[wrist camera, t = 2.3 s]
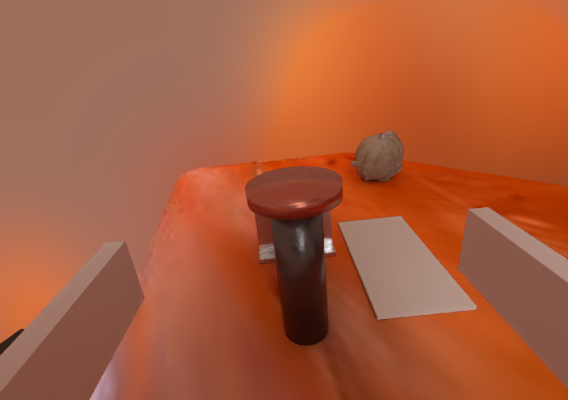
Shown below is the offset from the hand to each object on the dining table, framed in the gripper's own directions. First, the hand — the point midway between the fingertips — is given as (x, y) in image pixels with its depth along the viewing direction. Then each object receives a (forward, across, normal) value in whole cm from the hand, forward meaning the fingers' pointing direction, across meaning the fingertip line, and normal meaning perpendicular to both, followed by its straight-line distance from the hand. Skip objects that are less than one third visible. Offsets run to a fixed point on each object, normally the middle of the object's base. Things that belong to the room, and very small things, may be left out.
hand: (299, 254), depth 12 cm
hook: (+19, +1, -15) cm, 24 cm away
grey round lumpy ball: (+45, +18, -15) cm, 51 cm away
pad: (+20, +12, -15) cm, 28 cm away
